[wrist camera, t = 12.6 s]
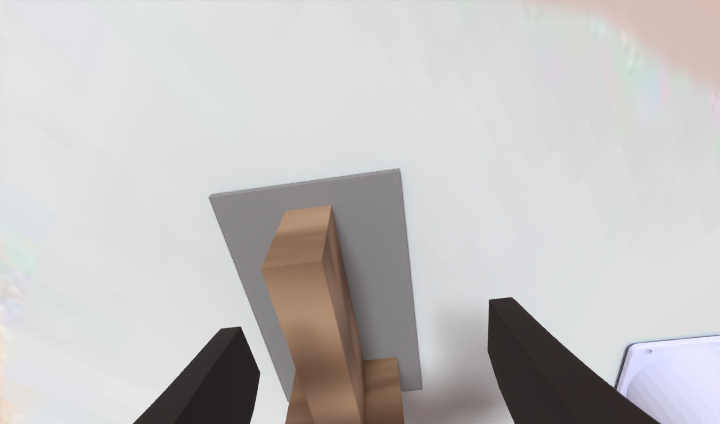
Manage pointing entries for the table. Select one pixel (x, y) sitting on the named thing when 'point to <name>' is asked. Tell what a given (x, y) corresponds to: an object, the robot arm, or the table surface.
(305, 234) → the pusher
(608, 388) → the robot arm
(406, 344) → the mat
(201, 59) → the table surface
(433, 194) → the table surface
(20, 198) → the table surface
